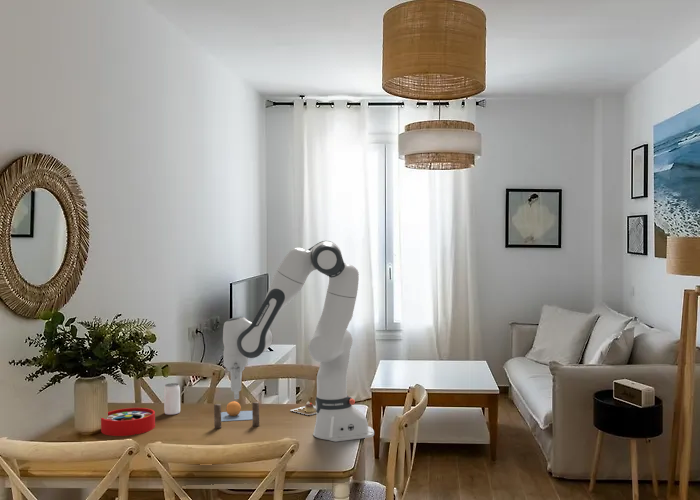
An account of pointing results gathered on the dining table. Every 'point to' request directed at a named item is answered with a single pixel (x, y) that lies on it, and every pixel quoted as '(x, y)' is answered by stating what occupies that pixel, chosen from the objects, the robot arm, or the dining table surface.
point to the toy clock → (128, 422)
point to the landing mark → (237, 416)
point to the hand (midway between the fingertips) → (236, 398)
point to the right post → (255, 413)
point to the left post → (217, 416)
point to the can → (172, 399)
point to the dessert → (306, 408)
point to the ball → (233, 408)
